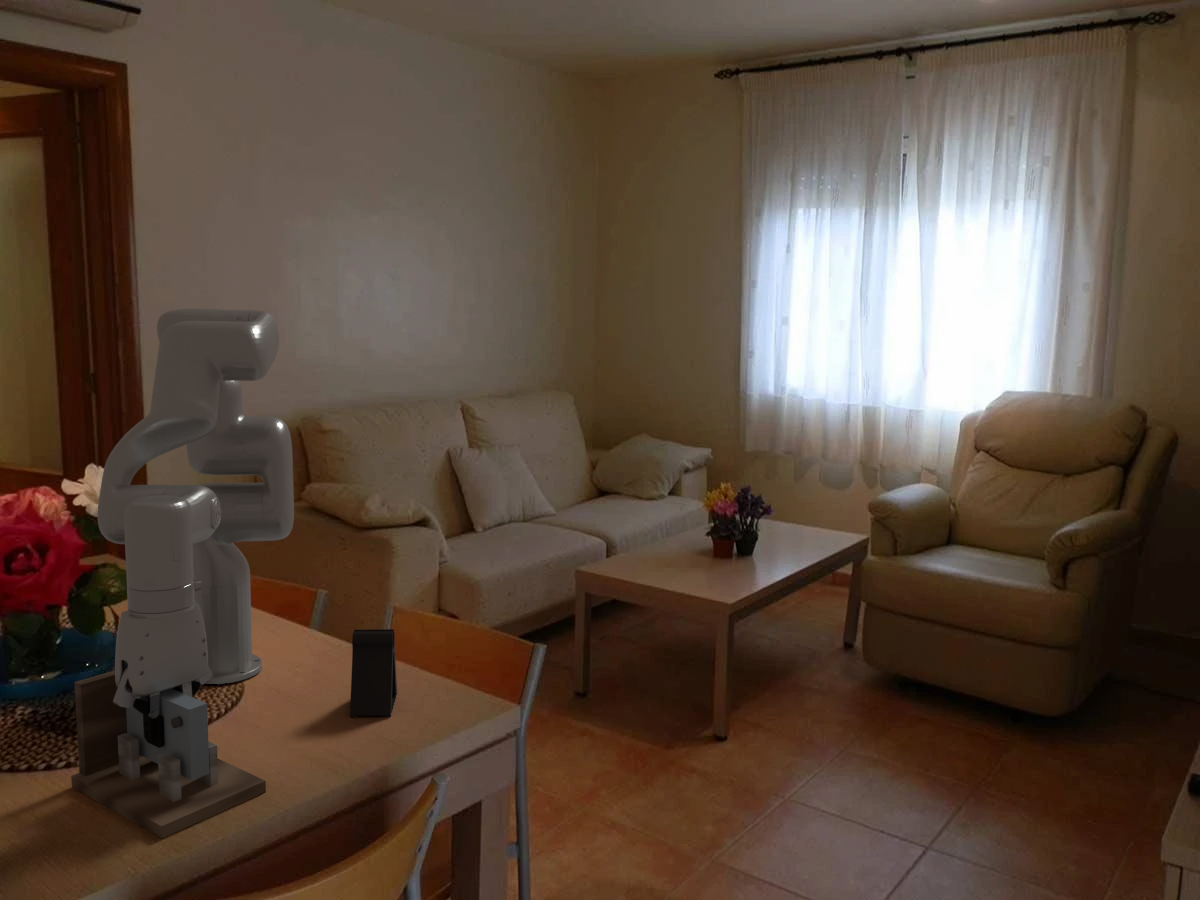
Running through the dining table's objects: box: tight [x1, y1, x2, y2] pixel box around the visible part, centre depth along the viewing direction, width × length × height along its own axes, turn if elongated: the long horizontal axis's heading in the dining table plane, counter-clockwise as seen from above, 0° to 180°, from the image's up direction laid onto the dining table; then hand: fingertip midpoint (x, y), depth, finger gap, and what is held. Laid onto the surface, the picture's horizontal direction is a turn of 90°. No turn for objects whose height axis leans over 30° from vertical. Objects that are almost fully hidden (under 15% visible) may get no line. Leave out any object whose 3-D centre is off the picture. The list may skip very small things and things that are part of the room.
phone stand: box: [349, 628, 398, 718], centre depth 152 cm, size 9×6×12 cm, turn 5°
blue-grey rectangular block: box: [126, 688, 209, 781], centre depth 124 cm, size 14×3×9 cm, turn 55°
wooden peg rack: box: [71, 669, 267, 839], centre depth 125 cm, size 20×14×14 cm
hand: (166, 738), depth 125 cm, fingers closed on blue-grey rectangular block, 2 cm apart
